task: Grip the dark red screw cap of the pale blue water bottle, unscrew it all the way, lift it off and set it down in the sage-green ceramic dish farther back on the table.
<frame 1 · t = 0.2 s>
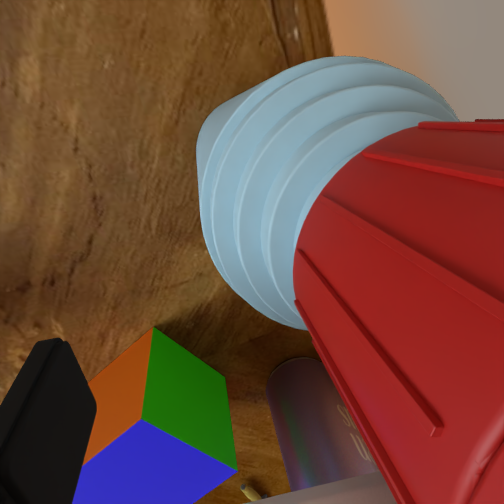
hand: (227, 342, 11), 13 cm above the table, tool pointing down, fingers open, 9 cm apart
beverage can: (296, 377, 31), on the table
cube: (156, 380, 28), on the table
bottle: (249, 153, 21), on the table, tilted 5°
dagger: (263, 500, 38), on the table
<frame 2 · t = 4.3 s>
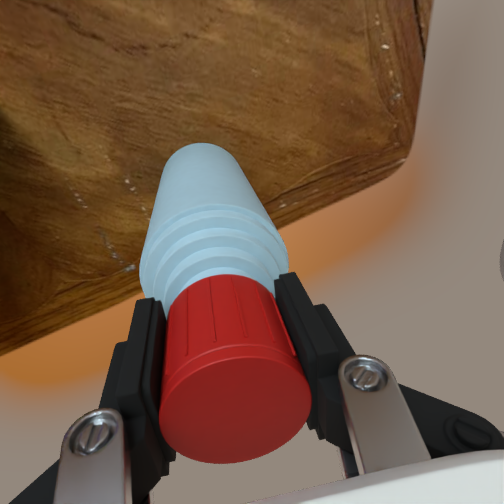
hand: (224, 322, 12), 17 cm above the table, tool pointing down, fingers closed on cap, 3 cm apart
bottle: (203, 184, 27), on the table
cap: (236, 402, 9), point 21 cm above the table, screwed on, not yet turned, touching gripper
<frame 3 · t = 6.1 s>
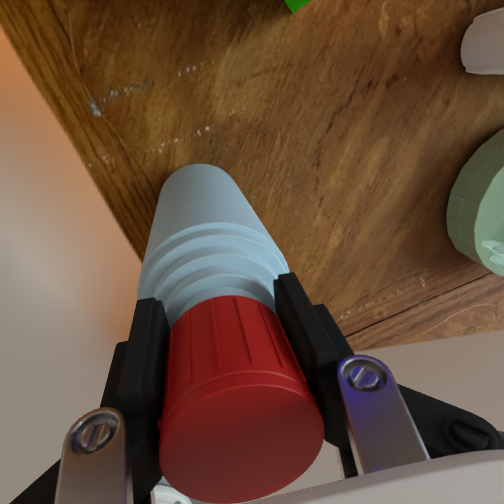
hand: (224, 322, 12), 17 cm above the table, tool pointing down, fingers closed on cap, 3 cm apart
bottle: (200, 204, 27), on the table, touching gripper
cap: (242, 434, 8), point 21 cm above the table, turned 93° so far, risen 0.1 cm, still on its thread, touching gripper
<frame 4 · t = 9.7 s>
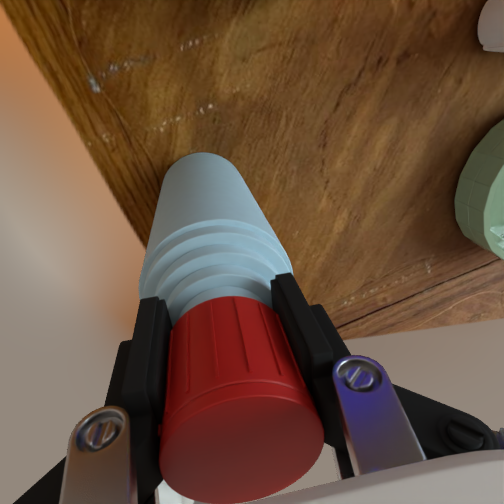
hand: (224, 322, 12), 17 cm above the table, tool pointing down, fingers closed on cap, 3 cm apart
bottle: (203, 194, 27), on the table, touching gripper
cap: (242, 439, 8), point 21 cm above the table, turned 94° so far, risen 0.1 cm, still on its thread, touching gripper
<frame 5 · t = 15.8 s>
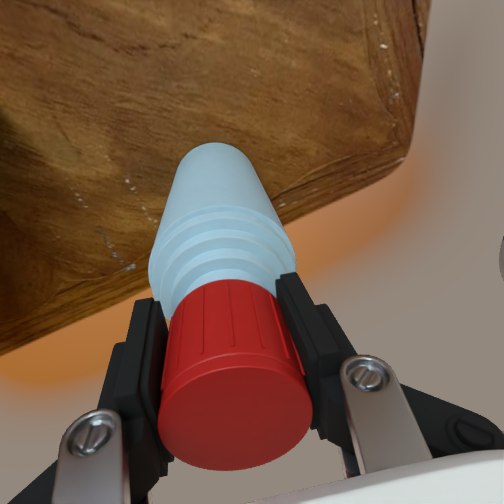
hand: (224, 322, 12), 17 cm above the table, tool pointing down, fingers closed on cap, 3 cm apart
bottle: (216, 184, 27), on the table
cap: (236, 410, 9), point 21 cm above the table, turned 188° so far, risen 0.2 cm, still on its thread, touching gripper
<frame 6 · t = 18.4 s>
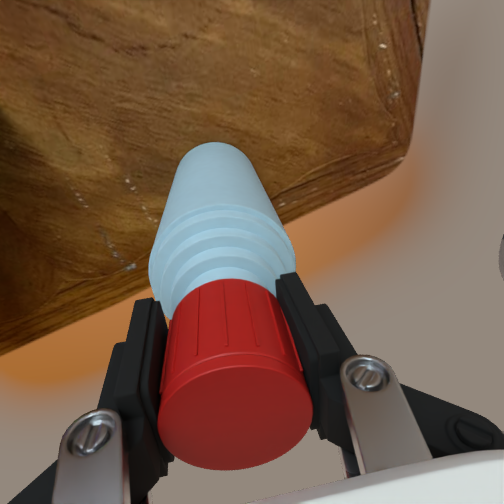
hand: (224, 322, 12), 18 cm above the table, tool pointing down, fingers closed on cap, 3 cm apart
bottle: (216, 183, 27), on the table
cap: (236, 410, 9), point 21 cm above the table, turned 283° so far, risen 0.3 cm, still on its thread, touching gripper
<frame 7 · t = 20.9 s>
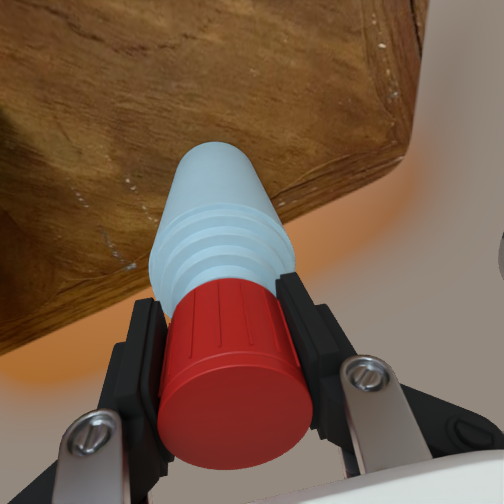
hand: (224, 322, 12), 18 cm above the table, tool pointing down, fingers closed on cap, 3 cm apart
bottle: (216, 183, 27), on the table
cap: (236, 409, 9), point 21 cm above the table, turned 377° so far, risen 0.4 cm, still on its thread, touching gripper
when the fingers open (3 cm above the table, at t = 31.3 s): cap drops 3 cm, resting on dish.
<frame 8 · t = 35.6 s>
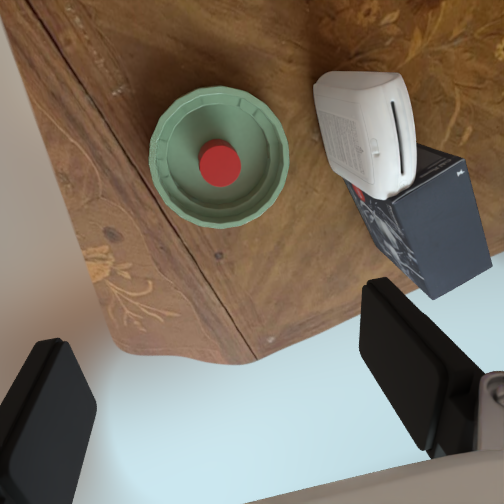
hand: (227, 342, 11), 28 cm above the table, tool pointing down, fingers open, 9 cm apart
photo printer: (336, 123, 37), on the table, touching small box
dish: (218, 155, 36), on the table
small box: (380, 194, 41), on the table, touching photo printer
cap: (220, 165, 33), point 4 cm above the table, off its thread, touching dish
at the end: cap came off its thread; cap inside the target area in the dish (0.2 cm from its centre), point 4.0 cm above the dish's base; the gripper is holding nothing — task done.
